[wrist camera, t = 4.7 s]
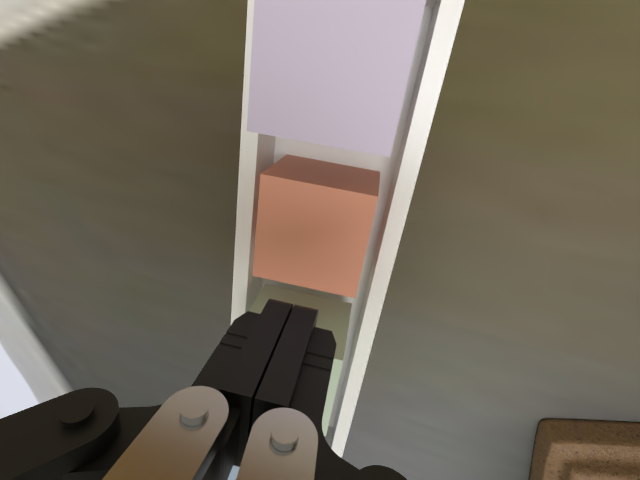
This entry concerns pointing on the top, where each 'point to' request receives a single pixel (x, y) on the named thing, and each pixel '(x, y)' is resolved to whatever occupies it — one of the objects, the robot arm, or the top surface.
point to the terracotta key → (314, 223)
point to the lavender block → (332, 70)
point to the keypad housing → (390, 207)
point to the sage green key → (329, 318)
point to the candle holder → (586, 450)
